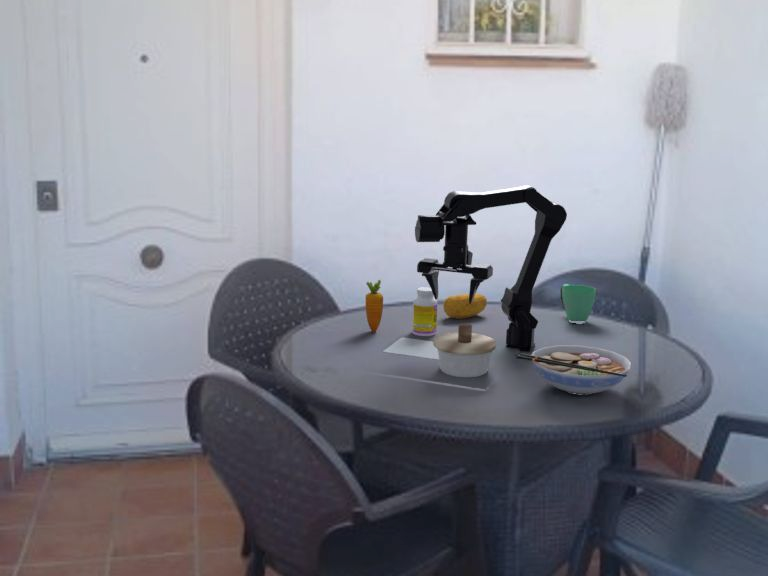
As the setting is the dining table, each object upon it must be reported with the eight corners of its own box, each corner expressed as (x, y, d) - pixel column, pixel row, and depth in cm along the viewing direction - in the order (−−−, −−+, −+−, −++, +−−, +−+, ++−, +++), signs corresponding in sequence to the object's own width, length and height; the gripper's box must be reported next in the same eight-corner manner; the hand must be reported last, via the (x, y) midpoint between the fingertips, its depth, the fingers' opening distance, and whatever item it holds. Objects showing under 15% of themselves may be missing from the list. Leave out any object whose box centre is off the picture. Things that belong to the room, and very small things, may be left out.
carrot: (362, 334, 253) (363, 281, 249) (367, 329, 258) (368, 277, 254) (380, 336, 252) (381, 282, 248) (384, 331, 256) (385, 278, 253)
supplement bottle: (436, 338, 251) (438, 292, 248) (412, 337, 251) (413, 291, 248) (435, 331, 258) (437, 286, 255) (412, 330, 258) (413, 285, 255)
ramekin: (446, 383, 217) (447, 354, 215) (429, 365, 229) (430, 338, 227) (499, 379, 220) (500, 351, 219) (479, 362, 233) (480, 335, 231)
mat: (465, 347, 243) (465, 346, 243) (449, 363, 231) (449, 361, 231) (401, 339, 250) (401, 337, 250) (382, 353, 237) (382, 351, 237)
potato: (491, 317, 273) (493, 294, 271) (450, 323, 266) (451, 299, 265) (478, 311, 279) (479, 289, 278) (437, 317, 273) (438, 293, 271)
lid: (504, 341, 226) (505, 322, 225) (482, 358, 213) (484, 337, 212) (447, 333, 233) (448, 313, 231) (423, 348, 220) (424, 328, 218)
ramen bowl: (645, 386, 217) (649, 353, 215) (616, 416, 198) (620, 380, 196) (545, 367, 229) (547, 335, 227) (508, 393, 210) (510, 359, 208)
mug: (600, 325, 267) (603, 292, 265) (570, 327, 265) (572, 293, 262) (575, 312, 281) (578, 280, 279) (546, 314, 278) (548, 282, 276)
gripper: (499, 239, 239) (496, 298, 243) (431, 233, 246) (429, 290, 249) (488, 247, 229) (485, 308, 233) (417, 240, 235) (415, 299, 239)
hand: (453, 301), depth 239 cm, fingers open, 9 cm apart
